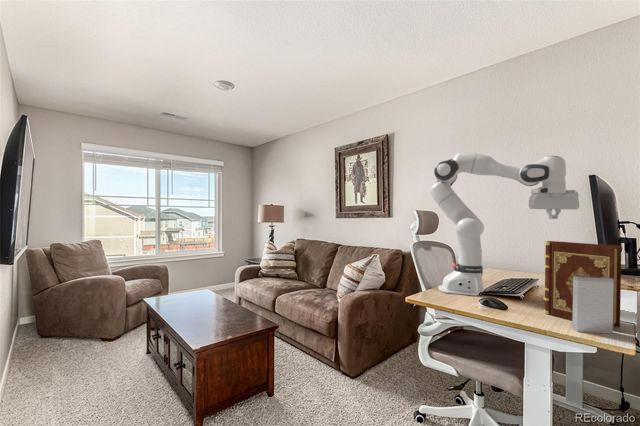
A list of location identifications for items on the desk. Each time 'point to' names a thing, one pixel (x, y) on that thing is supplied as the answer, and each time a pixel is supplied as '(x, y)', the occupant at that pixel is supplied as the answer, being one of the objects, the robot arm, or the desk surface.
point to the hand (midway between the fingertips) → (553, 218)
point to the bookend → (593, 304)
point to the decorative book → (578, 274)
